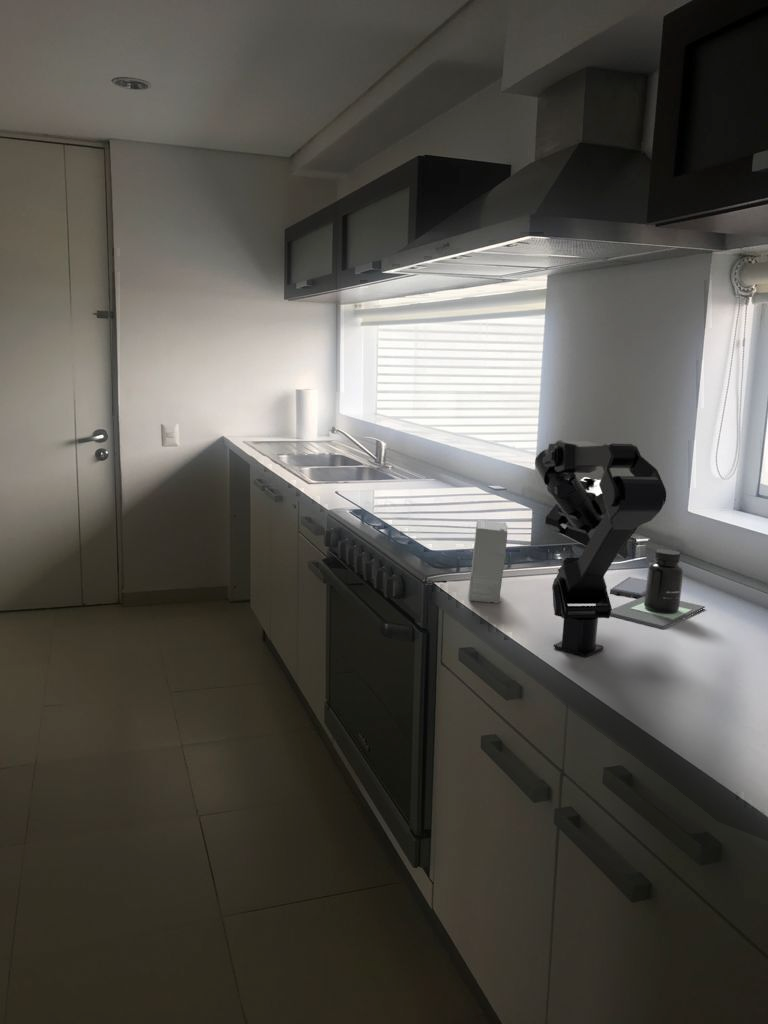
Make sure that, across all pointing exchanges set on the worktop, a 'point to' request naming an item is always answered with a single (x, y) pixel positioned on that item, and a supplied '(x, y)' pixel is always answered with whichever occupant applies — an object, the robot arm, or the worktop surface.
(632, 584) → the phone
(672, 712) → the worktop surface
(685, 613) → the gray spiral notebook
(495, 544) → the skincare box
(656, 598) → the supplement bottle
